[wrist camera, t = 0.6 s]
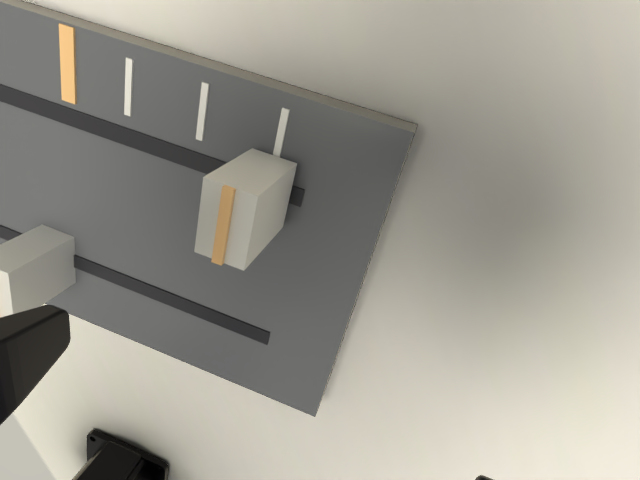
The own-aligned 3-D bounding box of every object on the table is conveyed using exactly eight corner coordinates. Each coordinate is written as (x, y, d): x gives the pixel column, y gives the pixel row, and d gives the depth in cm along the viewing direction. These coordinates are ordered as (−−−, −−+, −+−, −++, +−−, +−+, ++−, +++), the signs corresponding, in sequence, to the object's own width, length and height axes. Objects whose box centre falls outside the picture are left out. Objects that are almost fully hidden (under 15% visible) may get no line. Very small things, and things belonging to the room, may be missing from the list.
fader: (282, 227, 20) (241, 273, 16) (241, 212, 20) (191, 254, 16) (297, 163, 18) (255, 198, 15) (252, 148, 19) (200, 178, 15)
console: (322, 396, 26) (288, 485, 21) (-27, 253, 29) (-127, 300, 24) (417, 124, 18) (399, 162, 13) (-71, -29, 21) (-232, -44, 17)
